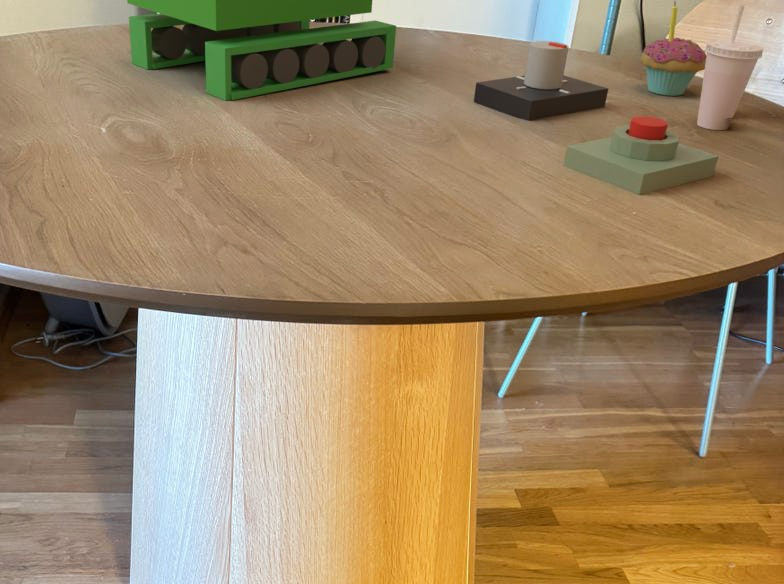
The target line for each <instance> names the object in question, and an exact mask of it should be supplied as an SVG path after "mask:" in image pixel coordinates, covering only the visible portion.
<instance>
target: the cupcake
mask: <svg viewBox="0 0 784 584" xmlns="http://www.w3.org/2000/svg"><path fill="white" fill-rule="evenodd" d="M676 4H677V1H676V0H673V6H672V7H671V15H670V21H669V31H668V38H666V37H664V38H662V39H658V40H657V39H656V40H654V41H653V42H651V43H649V44H647V46H646V47H645V46H644V49H643V50H642V53H641V58H640V63H641V64H642V65H643V66H645V71H646V77H647V78H646V79H647V90H648V91H649V92H651V93H653V94H656V95H661V96H669V97H677V96H682V95H684V93H685V91H686V89H687V88H688V86H689V85H690V83H691V82H692V80H693V79H694V77H695V75H697V73H699V72H701V71H705V63H706V57H707V53H706V51H705V50H703V49H702V48H701V46H700V45H699V44H698V43H696V42H694V41H693V40H691V39H685V38H679V37H675V30H676V24H677V23H676V22H677V15H678V6H677V5H676Z"/></svg>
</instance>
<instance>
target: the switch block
mask: <svg viewBox="0 0 784 584" xmlns="http://www.w3.org/2000/svg"><path fill="white" fill-rule="evenodd" d="M629 128H630V124H625V125H621V126H616V127H615V129H614V130H613V131H612V136H609V137H604V138H599V139H595V140H594V139H593V140H590V141H584V142H580V143H575V144H569V145H566V149H565V156H564V160H563V166H564V167H566V168H569V169H571V170H574V171H576V172H579V173H582V174H585V175H587V176H590V177H592V178H594V179H597V180H600V181H603V182H604V183H606V184H607V183H608V184H610V185H612V186H615V187H617V188H620V189H623V190H625V191H628V192H630V193H633V194H635V195H638V196H642V195H645V194H649V193H653V192H657V191H661V190H664V189H668V188H672V187H676V186H679V185H684V184H688V183H691V182H696V181H700V180H703V179H708V178H711V177H713V176H714V175H715V174H714V173H715V170H716V167H717V163H718V160H719V155H716V154H713V153H711V152H707V151H703V150H701V149H698V148H695V147H692V146H688V145H685V144H682V143H680V139H681V137H680V136H679V135H678V134H676V133H675V132H673V131H671V130H668V129H666V133H665V137H664V140H645V139H639V138H635V137H633V136H630V135H628V132H629Z"/></svg>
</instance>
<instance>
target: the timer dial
mask: <svg viewBox="0 0 784 584" xmlns="http://www.w3.org/2000/svg"><path fill="white" fill-rule="evenodd" d="M568 53H569V44H566V43H563V42H559V41H553V40H551V41H550V40H534V41H530V43H529V48H528V54H527V60H526V66H525V73H524V76H525V78H524V84H525V85H526V86H529V87H532V88H537V89H547V90H551V89H558V88H561V86H562V81H563V75H564V76H565V70H566V63H567V58H568Z"/></svg>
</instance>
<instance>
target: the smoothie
mask: <svg viewBox="0 0 784 584" xmlns="http://www.w3.org/2000/svg"><path fill="white" fill-rule="evenodd" d="M744 9H745V4H739V5H738V9H737V13H736V15H735V19H734V24H733V27H732V31H731V34H730V37H729V39H711V40H709V41H707V42H706V45H705V49H704V51H705V53H706V56H707V57H706V63H705V69H704V70H703V78H702V84H701V93H700V98H699V106H698V114H697V119H696V125H697V126H698V127H700V128H703V129H707V130H712V131H713V130H714V131H725V130H728V129H729V127H730V125H731V123H732V121H733V120H732V119H731V118H734V116H735V113H736V112H737V109H738V106H739V104H740V103H741V99H742V97H743V95H744V93H745V91H746V88H747V86H748V83H749V81H750V79H751V76H752V74H753V72H754V70H755V68H756V66H757V63H758V60H759V59H761V58H762V57H763V53H764V50H765V49H764V47H763V46H761V45H759V44H757V43H753V42H749V41H742V40H737V39H736V37H737V34H738V30H739V27H740V23H741V20H742V16H743V13H744Z"/></svg>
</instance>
